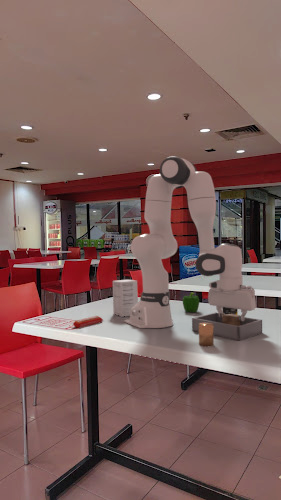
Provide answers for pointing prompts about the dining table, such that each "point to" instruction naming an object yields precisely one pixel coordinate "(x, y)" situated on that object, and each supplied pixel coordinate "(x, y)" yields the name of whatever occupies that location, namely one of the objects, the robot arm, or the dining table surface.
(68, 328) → the dining table surface
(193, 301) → the bell pepper
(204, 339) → the copper tin
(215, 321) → the box
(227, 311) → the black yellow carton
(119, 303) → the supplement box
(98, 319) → the candy bar
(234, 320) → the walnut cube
